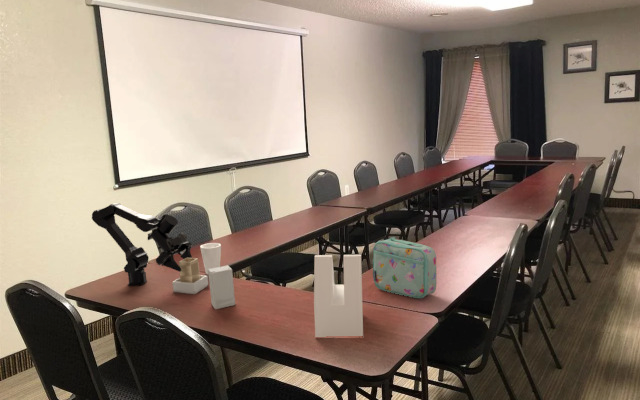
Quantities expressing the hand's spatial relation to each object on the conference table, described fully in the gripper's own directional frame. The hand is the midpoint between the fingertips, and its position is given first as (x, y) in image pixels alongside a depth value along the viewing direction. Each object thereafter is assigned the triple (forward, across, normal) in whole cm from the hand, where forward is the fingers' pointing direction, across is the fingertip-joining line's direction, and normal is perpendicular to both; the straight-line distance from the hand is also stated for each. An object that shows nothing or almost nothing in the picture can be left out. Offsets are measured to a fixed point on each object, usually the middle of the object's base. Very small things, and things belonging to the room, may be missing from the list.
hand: (187, 267), depth 214 cm
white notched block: (+58, -19, -46) cm, 77 cm away
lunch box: (+68, +19, -56) cm, 90 cm away
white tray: (+7, 0, +6) cm, 9 cm away
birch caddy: (+7, 0, +5) cm, 9 cm away
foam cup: (+5, +22, +8) cm, 24 cm away
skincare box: (+24, -13, -11) cm, 29 cm away
